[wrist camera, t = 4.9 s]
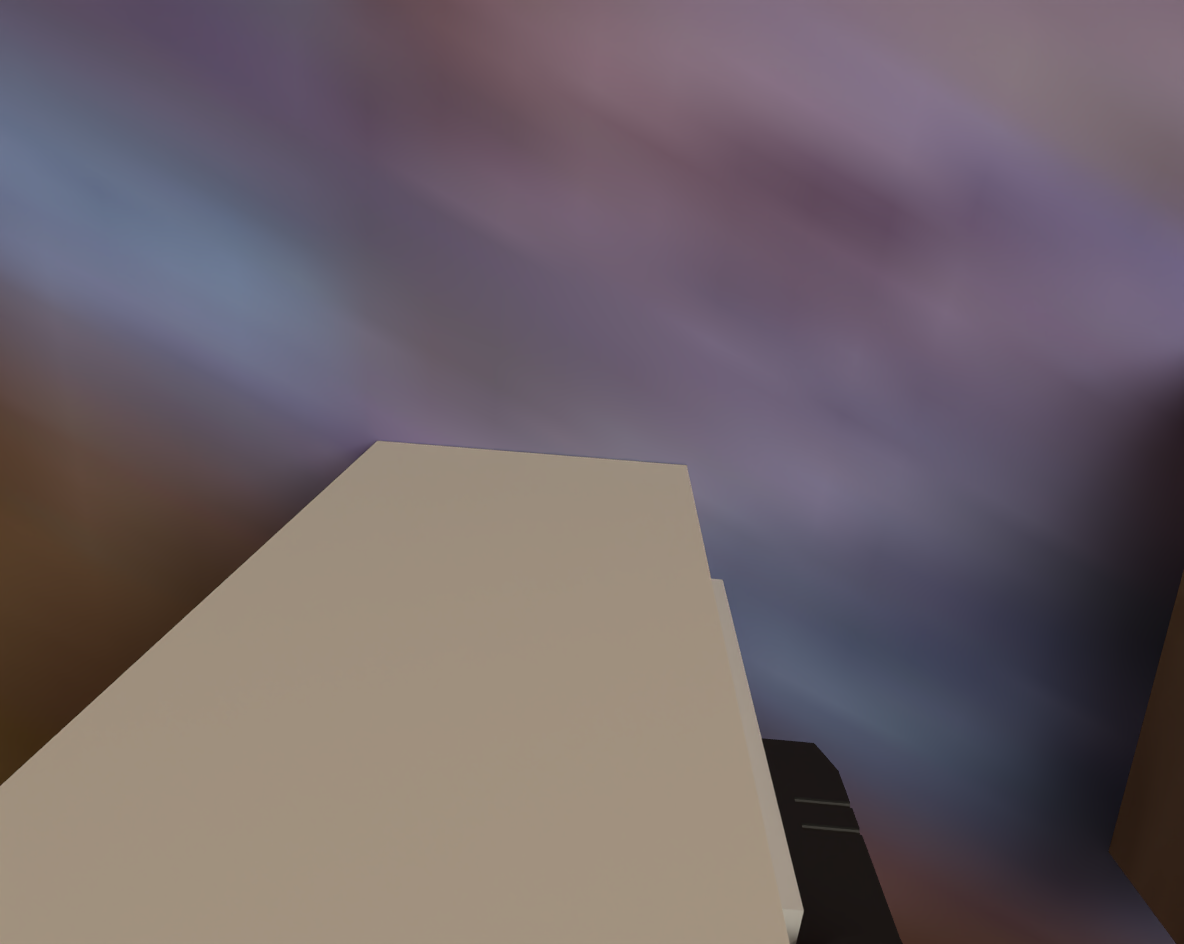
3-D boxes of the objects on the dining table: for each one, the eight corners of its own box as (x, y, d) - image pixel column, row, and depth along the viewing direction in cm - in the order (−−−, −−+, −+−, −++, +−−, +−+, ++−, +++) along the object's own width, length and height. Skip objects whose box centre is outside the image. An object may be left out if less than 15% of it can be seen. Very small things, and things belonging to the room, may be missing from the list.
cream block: (387, 696, 16) (-197, 1869, 5) (377, 440, 14) (-732, 1455, 3) (656, 719, 16) (717, 1990, 5) (686, 465, 14) (942, 1660, 2)
